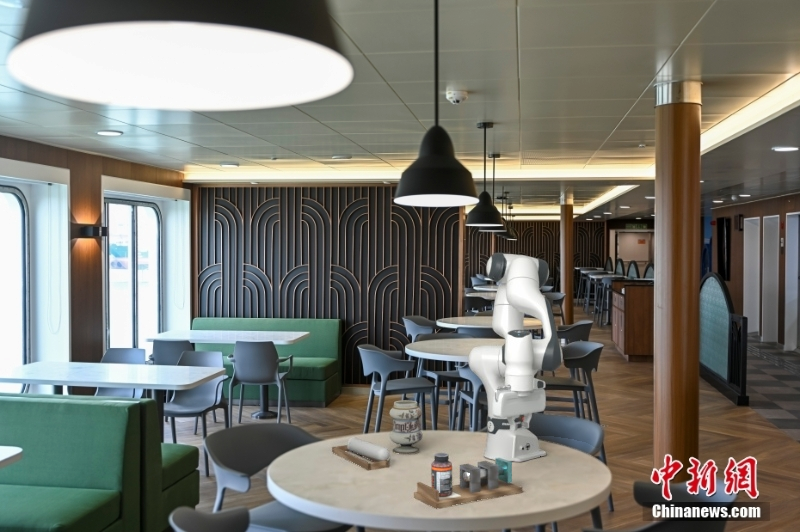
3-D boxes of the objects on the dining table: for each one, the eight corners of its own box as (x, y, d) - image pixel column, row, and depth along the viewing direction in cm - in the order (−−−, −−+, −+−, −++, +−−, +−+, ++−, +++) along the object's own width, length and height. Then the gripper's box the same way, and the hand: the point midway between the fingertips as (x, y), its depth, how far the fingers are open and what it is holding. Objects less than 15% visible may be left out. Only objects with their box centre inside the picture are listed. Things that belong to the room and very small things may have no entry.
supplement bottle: (430, 491, 212) (430, 452, 212) (450, 490, 212) (450, 451, 212) (432, 497, 206) (432, 457, 206) (453, 497, 206) (453, 456, 207)
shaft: (499, 477, 223) (499, 457, 223) (512, 482, 218) (511, 462, 218) (459, 484, 216) (459, 463, 216) (471, 489, 211) (471, 468, 211)
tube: (390, 465, 246) (357, 453, 268) (394, 449, 247) (361, 438, 269) (377, 461, 244) (345, 450, 266) (381, 445, 245) (349, 435, 267)
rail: (497, 482, 227) (497, 455, 227) (522, 492, 216) (522, 464, 216) (413, 497, 212) (413, 469, 212) (436, 509, 201) (436, 479, 201)
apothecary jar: (402, 446, 276) (402, 397, 276) (429, 450, 269) (428, 401, 269) (382, 452, 266) (382, 402, 266) (410, 457, 259) (409, 406, 259)
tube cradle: (352, 449, 270) (352, 444, 270) (388, 467, 245) (388, 461, 245) (332, 452, 266) (332, 447, 266) (367, 470, 241) (367, 464, 241)
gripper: (502, 388, 215) (503, 435, 215) (549, 381, 228) (549, 426, 227) (487, 385, 220) (487, 432, 220) (533, 379, 232) (533, 423, 232)
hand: (519, 429), depth 224 cm, fingers open, 4 cm apart
